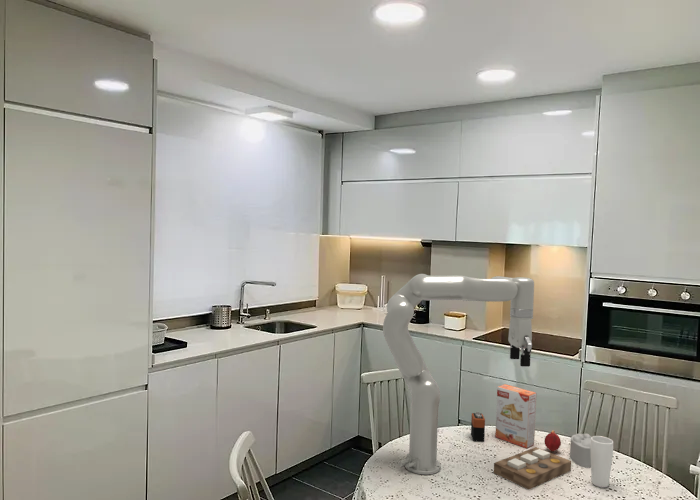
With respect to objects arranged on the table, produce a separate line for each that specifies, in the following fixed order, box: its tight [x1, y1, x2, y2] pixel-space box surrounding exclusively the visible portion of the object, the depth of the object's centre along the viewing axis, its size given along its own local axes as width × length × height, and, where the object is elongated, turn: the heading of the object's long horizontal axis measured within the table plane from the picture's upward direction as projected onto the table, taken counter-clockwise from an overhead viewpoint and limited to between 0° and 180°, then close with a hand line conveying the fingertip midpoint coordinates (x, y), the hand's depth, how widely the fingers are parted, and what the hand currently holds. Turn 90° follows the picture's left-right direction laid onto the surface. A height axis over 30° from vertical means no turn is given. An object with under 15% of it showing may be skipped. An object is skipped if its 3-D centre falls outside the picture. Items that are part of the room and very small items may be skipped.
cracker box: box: [495, 383, 537, 449], centre depth 211 cm, size 14×6×21 cm, turn 42°
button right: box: [532, 448, 551, 460], centre depth 191 cm, size 4×4×2 cm
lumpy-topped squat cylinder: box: [569, 433, 592, 469], centre depth 196 cm, size 10×13×9 cm
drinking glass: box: [590, 435, 614, 488], centre depth 178 cm, size 7×7×15 cm
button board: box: [493, 446, 572, 491], centre depth 186 cm, size 24×14×4 cm, turn 127°
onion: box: [543, 429, 562, 453], centre depth 203 cm, size 6×6×8 cm
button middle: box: [520, 454, 538, 465], centre depth 187 cm, size 4×4×2 cm
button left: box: [508, 458, 526, 470], centre depth 183 cm, size 4×4×2 cm
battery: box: [470, 411, 486, 443], centre depth 214 cm, size 4×7×10 cm, turn 175°
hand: (519, 362), depth 187 cm, fingers open, 9 cm apart
